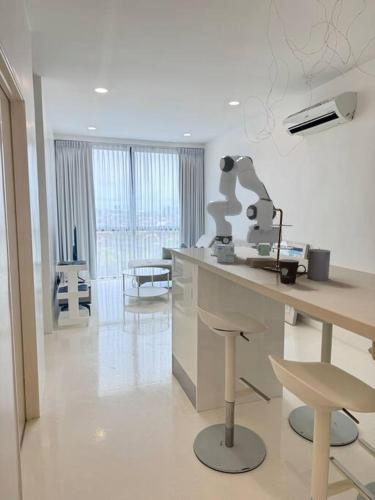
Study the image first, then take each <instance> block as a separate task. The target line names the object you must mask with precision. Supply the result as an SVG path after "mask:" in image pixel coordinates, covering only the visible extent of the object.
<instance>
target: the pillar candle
mask: <svg viewBox="0 0 375 500" xmlns="http://www.w3.org/2000/svg"><path fill="white" fill-rule="evenodd" d="M307 255H308V257H307V268H306V271H307V272H306V279H308V280H310V281H311V280H313V281H318V282H319V281H320V282H321V281H324V282H325V281H328V280H329V278H330V277H329V275H330V261H331V250H329V249H323V248H321V247H318V248H311V249H308V254H307Z"/></svg>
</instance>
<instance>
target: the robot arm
mask: <svg viewBox="0 0 375 500" xmlns="http://www.w3.org/2000/svg"><path fill="white" fill-rule="evenodd" d="M219 161H220V162H219V168H220V171H221V173H220V177H219V178H220V179H219V186H218V192H219V193H220V194H221V195H222V196H224V197H225V199H222V200H221V199H217V200H215V199H214V200H211V201H208V203H207V204H206V212H207V213H208V214H209V216H211V217H212V219H213V220H214V223H215V229H216V230H215V231H216V232H215V234H216V235H215V237H214V239H215V241H214V243H213V244H212V245H211V246H210V247H211V248H210V249H211V250H212V251H210V253H209V254H210V255H209V256H214V257H217V245H218V244H219V245H234V246H235V243H234V242H233V225H232V223H231V222H229V221H228V220H226V217H235V216H239V215H241V214H242V212H243V205H242V203H241V201H240V200H239V199H238V197H237V196H236V185H237V180H238V183H239V185H240V186H241V187H242V188H244V189H245V190H249V191H252V193H253V192H254V193H255V194H256V195H257V196H258V198H259V199H258V201H257V202H255V203H253V204H250V205H248V207H247V208H246V217H247V218H248V220H250V221H254V222H255V221H256V223H254V224H251V225H249V226H248V231H247V233H246V242H247V243H248V244H254V245H255V247H256V251H257V252H258V251H260V248H259V247H258V246H259V245H260V244H269V245H270V252H271V251H272V248H273V246H274V244H281V243H282V242H283V235H282V234H283V229H282V230H281V238H280V243H278V237H279V227H280V226H274V225H273V223H274V219H275V218H276V216H277V209H276V207H275V205H274V202H273V200H272V199H271V197H270V195H269V193H268V190H267V188H266V186H265V185H264V182H262V181H261V179H260V178H259V177H258V175H257V173H256V169H255V166H254V163H253V158H252V157H250V156H249V155H248V156H247V155H240V154H239V155H238V154H236V155H229V154H228V155H224V156H222V157H220V160H219ZM274 209H276V211H274ZM270 225H273V226H270ZM234 256H237V253H236V252H234Z"/></svg>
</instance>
